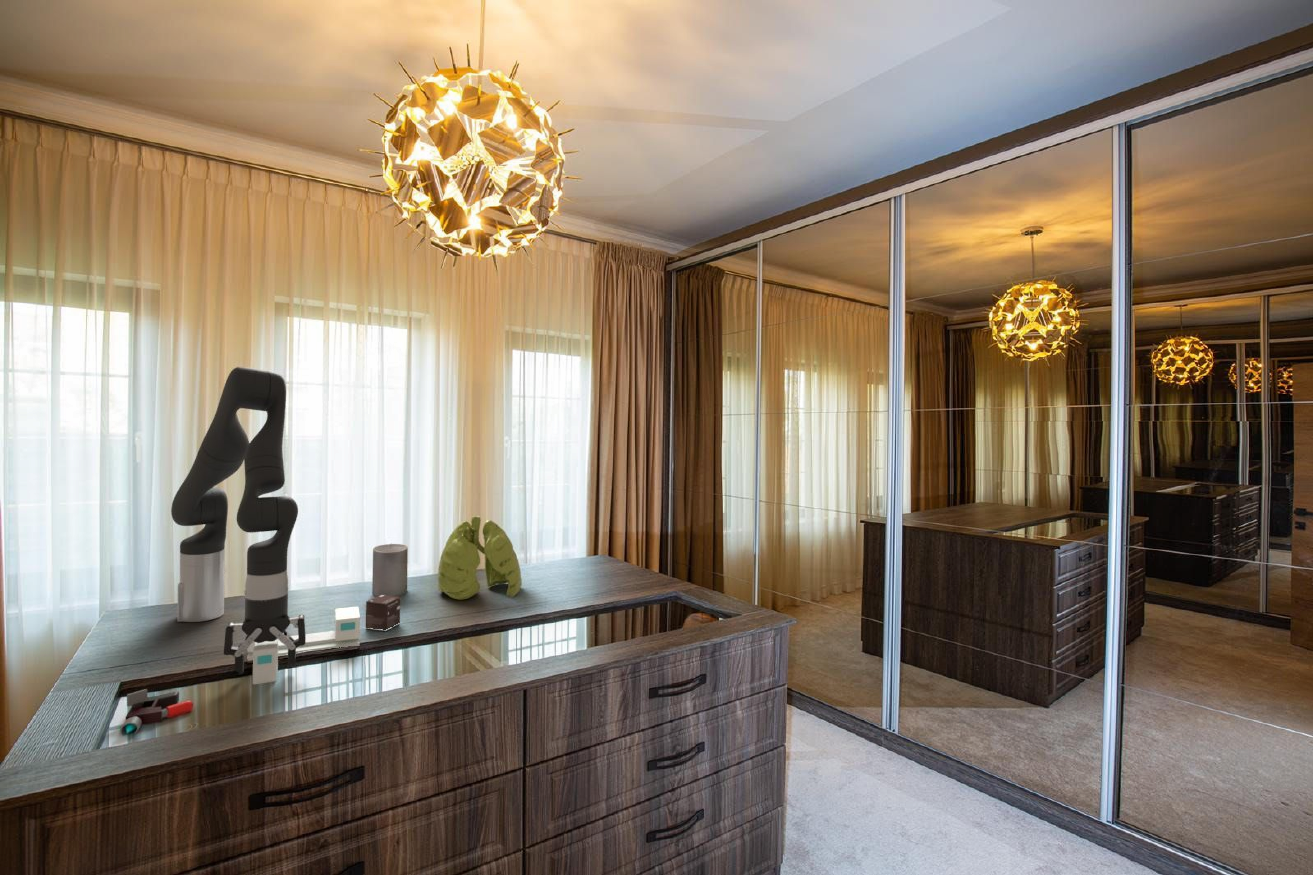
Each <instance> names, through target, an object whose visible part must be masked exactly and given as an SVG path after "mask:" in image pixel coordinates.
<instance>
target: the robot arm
mask: <svg viewBox="0 0 1313 875" xmlns="http://www.w3.org/2000/svg"><path fill="white" fill-rule="evenodd" d="M222 389H223V390H222V393H221V394H220V395H221V396H220V398H219V402H218V404H217V405H218V406H217V408H216V411H215V414H214V416H213V418H212V421H211V423H210V425H209V427H208V430H207V431H206V433H205V436H204V438H203V440H202V442H201V444H200V446H199V448H198V451H197V453H196V456H195V458H194V461H193V464H192V466H191V468H190V470H189V472H188V474H187V475H186V477H185V479H184V480H183V482H182V483H181V485H180V487H178V490H177V491H176V493H175V496H174V498H173V500H172V503H171V509H170V512H171V518H172V520H173V521H174V523H175V524H177V525H179V526H183V527H194V526H203V525H204V527H203V528H202V529H201V530H200V531H198V532H197V533H195V534H193V535H191V536H189V537H186V538H184V539H183V540H182V541H180V543H179V582H178V583H177V622H178V623H179V622H185V623H198V622H206V621H211V620H214V619H215V620H216V619H217V618H220V617H222V616H223V615H224V613H225V555H226V554H225V553H226V551H225V550H226V549H225V544H226V539H227V526H228V524H227V523H228V512H229V510H228V509H229V501H228V496H227V493H226V491H225V490H224V489H223V488H221V487H216V486H217V485H219V484H221V483H222V482H223V481H225V480H226V479H229V478H230V477H231V476H233V475H234V474H235V473H236V472H237V471H238V470H239V469H240V468H241V467H242V465H243V463H244V465H243V466H244V478H245V479H244V480H245V481H244V490H243V494H242V498H241V501H240V504H239V506H238V509H237V513H236V522H237V525H238V527H239V528H240V530H241V531H242V532H245V533H252V534H253V533H260V532H261V533H263V532H274V531H275V533H274V535H273V536H271V537H270V538H268V539H265V540H262V541H258V542H255V543H253V544H251V545H249V547H248V548H247V552H246V579H245V582H244V584H245V585H244V593H243V594H244V620H243V621H242V622H243V623H241V622H239V623H234V622H232V621H231V622H228V623H227V625H226V627H225V631H224V634H225V636H224V644H223V645H224V647H223V655H224V656H229V655H230V656H232V657H234V671H235V672H236V673H237V672H238V675H242V674H244V670H245V651H246V650H248V647H249V646H250V645H251V643H252V642H253V641H254V642H257V643H262V642H265V641H269V642H272V641H275V640H277V639H279V640H280V641H281V642H282V643H283V644H285V645H286V646H287V647H288V659H287V668H291V667H292V666H293V665H292V664H295V663H296V659H297V658H296V648H297V647H299V646H303V645H305V641H306V635H305V634H306V622H305V621H306V619H305V617H306V616H305V615H304V614H299V615H298V616H296V617H295V616H294V617H289V613H288V612H289V610H288V609H289V607H288V606H289V576H288V550H289V544H290V539H291V536H292V533H293V531H294V527H295V525H296V521H297V520H298V519H297V518H298V515H299V507H298V504H297V502H296V500H295V499H294V498H292V497H290V496H288V495H284V496H283V495H282V496H266V497H265V496H263V495H266V494H270V493H274V492H276V491H279V490H280V489H282V488H283V487H284V485H285V480H286V479H285V469H284V468H285V466H284V458H283V457H284V456H283V455H284V454H283V438H284V431H285V430H284V428H285V419H286V403H287V384H286V380H285V378H284V376H283V375H282V374H280V373H277V372H273V371H269V370H268V371H267V370H264V369H263V370H262V369H258V368H253V367H246V366H245V367H244V366H237V367H235V368H232V370H231V371H230V372H229V374H228V376H227V378H226V380H225V383H224V386H223V388H222ZM240 409H244V410H246V409H247V410H252V411H260V412H266V413H267V414H266V420H265V423H264V424H263V425H262V427H261V429H259V432H257V433H256V435H255V436H254V437H253V438H252V440H251V441H250V440H249V438H248V435H247V432H246V431H245V429H244V427H243V425H242V424H241V422H240V420H239V417H238V414H237V413H238V411H239V410H240ZM260 496H262V497H260ZM290 625H292V626H293V628H295V629H297V633H298V634H297V635H298V637H299V638H298V639H296V640H294V639H293V638H292V637H291V636H292V635H291V634H290V633H289V632H288V631H287V629H288V627H289V626H290ZM240 630H242V631H243V633H244V634H246V636H245V637H244V638H243V639H242V641H241V642H240V644H238V645H237V646H233V645H234V636H237V634H238V632H239V631H240Z"/></svg>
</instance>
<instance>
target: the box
mask: <svg viewBox="0 0 1313 875" xmlns="http://www.w3.org/2000/svg"><path fill="white" fill-rule="evenodd" d="M400 622H401V596H387V595H380V596H377V597H376V596H373V597H372V598H371V599H368V600H366V601H365V627H366V628H373V629H383V630H386V629H388V628H390V627H393V626H394V625H396V624H398V623H400ZM400 624H401V623H400Z"/></svg>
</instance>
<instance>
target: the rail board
mask: <svg viewBox="0 0 1313 875" xmlns="http://www.w3.org/2000/svg"><path fill="white" fill-rule="evenodd" d="M359 608H360V607H359V606H350V607H340V608H335V611H334V612H335V613H334V616H335V617H334V630H330V631H322V632H321V631H320V632H313V633H305V635H306V641H305V645H303V646H299V647H297V648H296V653H298V652H303V651H308V650H324V649H331V648H339V647H340V648H341V647H348V646H360V644H361V643H360V633H361V632H360V631H361V630H360V627H361V616H360V614H361V613H360V609H359ZM290 636H291V637H292V638H293V639H294V640H296V639H298V638H299V637H298V634H296V635H290ZM254 646H255V642H254V641H253V642H252V643H251V645H250V646H249V647H248V648H247V653H248V654H247V655H246V656H247V657H246V660H247V659H253V650H254ZM286 654H288V647H287V646H286V645H285V644H283V643H282V642H281V641H280V640H279V639H278V655H286Z"/></svg>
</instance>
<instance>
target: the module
mask: <svg viewBox="0 0 1313 875" xmlns="http://www.w3.org/2000/svg"><path fill="white" fill-rule="evenodd" d="M278 670H279V660H278V639H277V640H275V641H272V642H269V641H265V642H262V643H257V642H255V646H254V650H253V664H252V685H259V684H266V683H267V684H268V683H273V682H276V681H277V677H278Z"/></svg>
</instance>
